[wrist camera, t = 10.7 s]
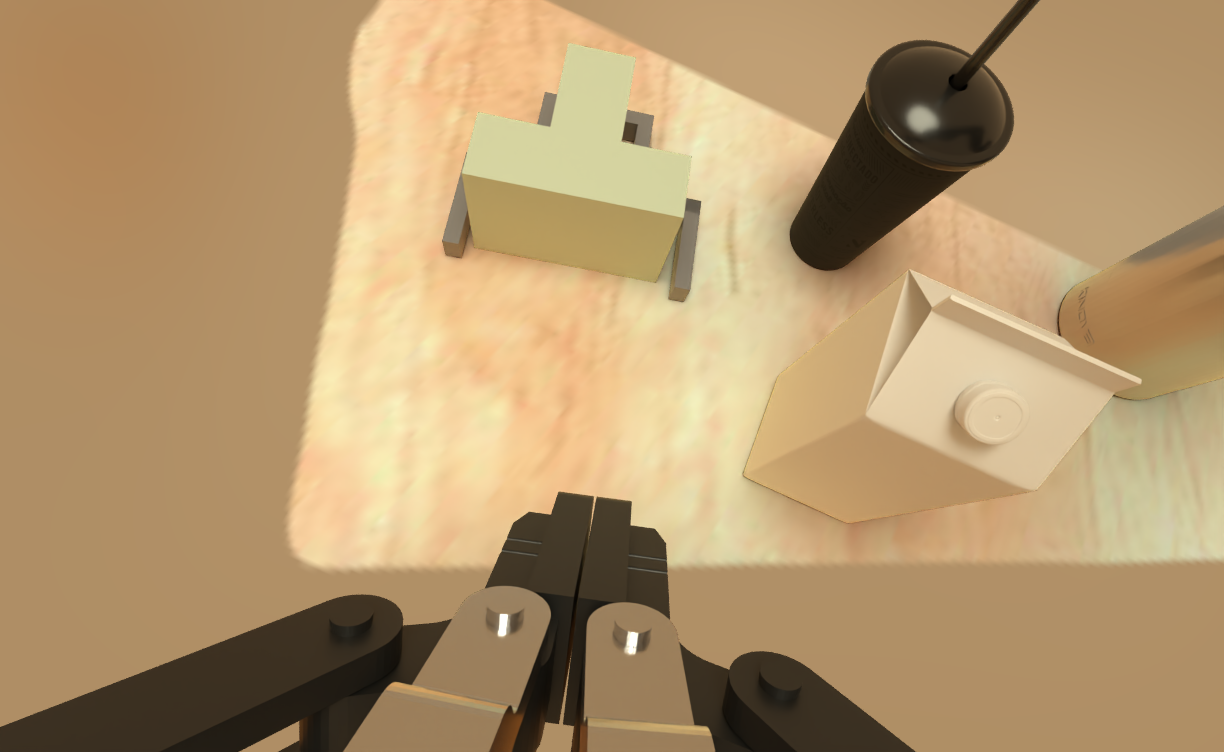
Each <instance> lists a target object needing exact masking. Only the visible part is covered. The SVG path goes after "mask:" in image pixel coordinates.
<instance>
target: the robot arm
mask: <svg viewBox="0 0 1224 752" xmlns="http://www.w3.org/2000/svg"><path fill="white" fill-rule="evenodd" d="M1059 327H1060V333H1061V337H1063V338H1064V339H1065V340H1067V341H1068V342H1069V343H1070V344H1071V345H1072V346H1073V347H1074V348H1075V349H1076V350H1078V351H1080V352H1082V353H1084V354H1087V355H1089V356H1091V357H1093V358H1095V359H1098V360H1100V361H1102V362H1104V363H1107V364H1109V365H1111V366H1113V367H1116V368H1118V369H1120V370H1122V371H1124V372H1127V373H1129V374H1131V375H1133V376H1136V377H1138V378H1140V379H1142V382H1141V385H1138V386H1135V387H1132V388H1129V389H1125V390H1122V391H1119V392H1116V393H1115V394H1114V395H1116V396H1119V397H1122V398H1127V399H1133V400H1141V399H1149V398H1153V397H1156V396H1160V395H1163V394H1167V393H1170V392H1174V391H1177V390H1182V389H1187V388H1190V387H1193V386H1197V385H1200V384H1204V383H1207V382H1211V381H1214V380H1218V379H1221V378H1224V206H1222V207H1221V208H1219V209H1217V210H1215V211H1213V212H1211V213H1209V214H1207V215H1206V216H1204V217H1202V218H1200V219H1198V220H1196V221H1194V222H1192V223H1191V224H1189V225H1187V226H1185V227H1183V228H1181V229H1179V230H1178V231H1176V232H1174V233H1172V234H1170V235H1168V236H1166V237H1165V238H1163V239H1161V240H1159V241H1157V242H1155V243H1153V244H1152V245H1150V246H1148V247H1146V248H1145V249H1142V250H1140V251H1139V252H1137V253H1135V254H1133V255H1131V256H1129V257H1127V258H1125V259H1123V260H1122V261H1120V262H1118V263H1116V264H1114V265H1113V266H1111V267H1109V268H1107V269H1105V270H1103V271H1102V272H1100V273H1098V274H1096V275H1094V276H1092V277H1090V278H1089V279H1087V280H1085V281H1083V282H1081V283H1079V284H1077V285H1076V286H1074V287H1073V288H1072V289H1071V290H1070V291H1069V292H1068V293H1067V295H1066V297H1065V298H1064V300H1063V302H1062V305H1061V309H1060V312H1059ZM593 500H594V496H587V495H580V494H572V493H565V492H558V495H557V498H556V501H555V504H554V507H553V510H552V513H551V515H548V514H541V513H534V512H528V513H527V514H526V515H524V516H523V517H521V518H520V519H518V520H517V521H515V522H514V523H513V525H512V527H511V530H510V532H509V534H508V537H507V540H506V541H505V543H504V546H503V548H502V552H501V553H500V555H499V557H498V559H497V562H496V564H495V566H494V569H493V571H492V573H491V575H490V578H489V580H488V582H487V585H486V587H485V589H482V590H480V591H477V592H475V593H473V594H472V595H470V596H469V597H468V598H466V599H465V600H464V602H463V603H462V604H461V606H460V608H459V609H458V611H457V612H456V614H455V616H454V617H453V619H450V620H447V621H442V622H438V623H429V624H418V625H404V626H403V616H402V612H401V610H400V609H399V608H398V607H397V605H396V604H394V603H393V602H391V601H389V600H387V599H385V598H382V597H379V596H373V595H349V596H343V597H339V598H335V599H332V600H329V601H326V602H324V603H322V604H319V605H316V606H313V607H311V608H308V609H306V610H303V611H301V612H298V613H295V614H293V615H290V616H287V617H285V618H282V619H280V620H277V621H275V622H272V623H269V624H267V625H264V626H261V627H259V628H256V629H254V630H251V631H248V632H246V633H243V634H241V635H238V636H236V637H233V638H230V639H228V640H225V641H223V642H220V643H218V644H215V645H212V646H210V647H207V648H205V649H202V650H199V651H197V652H194V653H191V654H189V655H186V656H184V657H181V658H178V659H176V660H173V661H171V662H168V663H165V664H163V665H160V666H158V667H155V668H152V669H150V670H147V671H145V672H142V673H140V674H137V675H134V676H132V677H129V678H126V679H124V680H121V681H119V682H116V683H113V684H111V685H108V686H106V687H103V688H101V689H98V690H96V691H93V692H90V693H88V694H85V695H82V696H80V697H77V698H75V699H72V700H70V701H67V702H64V703H62V704H59V705H57V706H54V707H51V708H49V709H46V710H43V711H41V712H38V713H36V714H33V715H30V716H28V717H25V718H23V719H20V720H18V721H15V722H12V723H10V724H7V725H5V726H2V727H0V752H239V751H241V750H243V749H245V748H247V747H249V746H251V745H253V744H255V743H257V742H259V741H261V740H263V739H265V738H266V737H268V736H270V735H272V734H274V733H276V732H278V731H280V730H282V729H284V728H286V727H288V726H290V725H292V724H294V723H296V722H298V721H299V739H300V740H299V741H297V742H296V743H294V744H292V745H290V746H288V747H286V748H284V749H282V750H281V751H279V752H536V750H537V748H538V747H539V745H540V742H541V738H542V734H543V730H544V725H545V722H548V723H555V724H559V720H560V714H561V709H562V703H563V697H564V692H565V686H566V680H567V675H568V669H569V663H570V670H569V679H568V688H567V696H566V704H565V713H564V720H563V724H564V725H571V726H574V732H573V739H572V748H571V752H915V751H914V750H913V749H911V748H910V747H909V746H907V745H906V744H905V743H904V742H902V741H901V740H900V739H899V738H897V737H896V736H895V735H894V734H892V733H891V732H890V731H888V730H887V729H886V728H885V727H883V726H882V725H881V724H879V723H878V722H877V721H876V720H874V719H873V718H872V717H871V716H869V715H868V714H867V713H865V712H864V711H863V710H862V709H860V708H859V707H858V706H857V705H855V704H854V703H852V702H851V701H850V700H849V699H848V698H846V697H845V696H843V695H842V694H841V693H840V692H839V691H837V690H836V689H835V688H834V687H832V686H831V685H830V684H828V683H827V682H826V681H824V680H823V679H822V678H821V677H819V676H818V675H817V674H816V673H814V672H813V671H812V670H810V669H809V668H808V667H806V666H805V665H803V664H801V663H800V662H798V661H796V660H794V659H792V658H789V657H787V656H784V655H781V654H777V653H772V652H764V651H762V652H761V651H760V652H750V653H747V654H743V655H741V656H739V657H738V658H737V659H735V660H734V662H733V663H732V665H731V666H730V670H728V669H726V668H723V667H721V666H718V665H715V664H713V663H710V662H708V661H705V660H703V659H701V658H699V657H697V656H696V655H694V654H692V653H691V652H690V651H688V650H687V649H686V648H685V647H683V646H682V645H681V644H680V642H679V639H678V634H677V630H676V628H675V626H674V625H673V623H672V622H671V621H670V611H669V593H668V575H667V562H666V561H667V555H666V543H665V542H664V540H663V539H662V538H661V536H660V535H659V534H658V532H657V531H656V530H655V529H653V528H645V527H638V526H630V522H631V505H632V501H625V500H618V499H610V498H603V497H597V498H596V503H595V509H594V514H593V520H592V525H591V518H592V509H593ZM590 526H591V531H590ZM589 534H590V536H589ZM571 652H572V654H571ZM570 658H571V662H570Z"/></svg>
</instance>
